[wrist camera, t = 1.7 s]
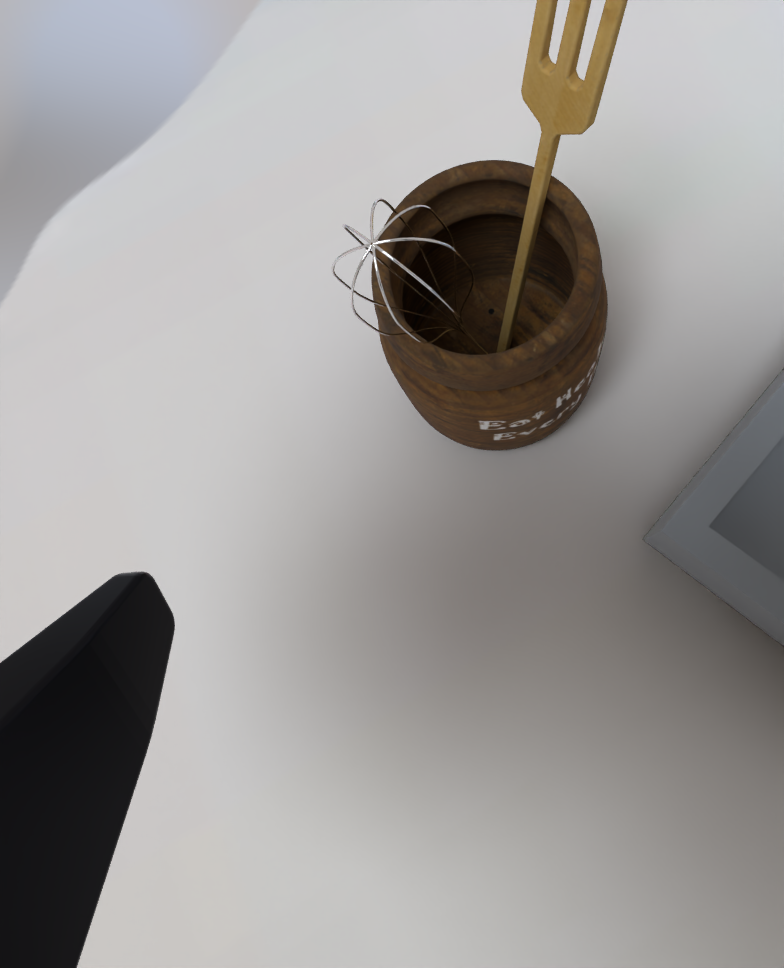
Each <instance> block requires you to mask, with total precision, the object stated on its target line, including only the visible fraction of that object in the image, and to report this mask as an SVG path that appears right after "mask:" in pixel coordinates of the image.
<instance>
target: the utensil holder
mask: <svg viewBox="0 0 784 968" xmlns="http://www.w3.org/2000/svg"><path fill="white" fill-rule="evenodd" d="M557 1H558V0H537V4H536V9H535V15H534V21H533V26H532V32H531V37H530V43H529V49H528V54H527V60H526V65H525V71H524V77H523V83H522V90H521V92H522V96H523V100H524V101H525V103H526V104H527V106H528V107H529V109H530V110H531V111H532V113H533V114H534V116H535V117H536V119H537V120H538V122H539V123H540V126H541V131H542V133H541V138H540V143H539V148H538V153H537V157H536V162H535V167H532V166H529V165H525V164H522V163H517V162H511V161H501V160H487V161H477V162H471V163H467V164H463V165H459V166H456V167H453V168H450V169H448V170H445V171H443V172H441V173H439V174H437V175H435V176H433V177H431V178H430V179H428V180H426V181H425V182H423V183H422V184H421V185H419V186H418V187H417V188H415V189H414V190H413V191H412V192H411V193H410V194H409V195H407V196H406V197H405V198H404V199H403V201H402V202H401V203H400V204H399V205H398V206H397V208H396V209H394V208H393V207H392V206H391V205H390V204H389V203H388V202H387V201H386V200H384V199H382V198H379V199H377V200H376V201H375V202H374V203H373V206H372V209H371V216H370V233H371V241H370V240H369V239H368V238H366V237H365V236H363V235H362V234H360V233H359V232H358V231H356V230H355V229H353V228H351V227H350V226H348V225H346V224H343V225H342V226H343V228H344V229H345V230H346V231H347V232H348V233H349V234H350V235H351V236H352V237H353V238H354V239H355V240H356V241H358V242H359V243H360V244H361V245H362V246H359V247H356V248H353V249H351V250H349V251H347V252H345V253H343V254H342V255H340V256H339V257H338V258H337V259H336V260H335V261H334V262H333V264H332V274H333V276H334V277H335V278H336V279H337V280H338V281H339V282H341V283H342V284H343V285H344V286H345V287H347V288H348V289H349V290H351V294H350V300H351V308H352V311H353V313H354V314H355V316H356V317H357V318H358V319H359V320H361V321H362V322H363V323H365V324H366V325H367V326H369V327H370V328H371V329H373V330H375V331H376V332H378V333H379V334H380V340H381V344H382V347H383V351H384V354H385V356H386V359H387V362H388V364H389V366H390V368H391V370H392V372H393V374H394V376H395V378H396V379H397V381H398V383H399V384H400V386H401V388H402V389H403V391H404V392H405V394H406V395H407V397H408V398H409V400H410V401H411V402H412V404H413V405H414V407H415V408H416V409H417V411H418V412H419V413H420V414H421V416H422V417H423V418H424V419H425V420H426V421H427V422H428V423H429V424H430V425H431V426H432V427H434V428H435V429H436V430H437V431H439V432H440V433H441V434H443V435H445V436H446V437H448V438H450V439H452V440H454V441H456V442H458V443H460V444H463V445H466V446H469V447H473V448H477V449H483V450H508V449H514V448H519V447H523V446H526V445H529V444H532V443H534V442H536V441H539V440H541V439H543V438H545V437H546V436H548V435H549V434H551V433H553V432H554V431H555V430H557V429H558V428H559V427H560V426H561V425H563V424H564V423H565V422H566V421H567V420H568V419H569V418H570V417H571V416H572V414H573V413H574V412H575V411H576V409H577V408H578V407H579V405H580V404H581V402H582V401H583V399H584V397H585V395H586V393H587V391H588V389H589V387H590V385H591V382H592V380H593V377H594V374H595V371H596V367H597V364H598V360H599V357H600V353H601V349H602V345H603V341H604V336H605V330H606V323H607V306H608V304H607V291H606V285H605V281H604V277H603V273H602V261H601V255H600V248H599V244H598V240H597V236H596V232H595V229H594V226H593V223H592V221H591V219H590V217H589V215H588V213H587V211H586V210H585V208H584V206H583V205H582V203H581V202H580V201H579V199H578V198H577V197H576V196H575V195H574V193H573V192H572V191H571V190H570V189H569V188H568V187H566V186H565V185H564V184H563V183H562V182H560V181H559V180H557V179H556V178H554V177H553V176H551V173H552V169H553V165H554V161H555V157H556V152H557V148H558V144H559V140H560V136H561V135H566V134H582V133H584V132H585V131H586V130H587V129H588V128H589V127H590V126H591V125H592V124H593V123H594V121H595V117H596V114H597V110H598V107H599V103H600V100H601V96H602V92H603V89H604V85H605V81H606V78H607V74H608V70H609V67H610V63H611V59H612V56H613V52H614V48H615V45H616V41H617V37H618V34H619V30H620V26H621V23H622V19H623V15H624V11H625V8H626V4H627V0H606V2H605V6H604V9H603V13H602V17H601V20H600V24H599V28H598V32H597V35H596V39H595V43H594V46H593V50H592V54H591V57H590V61H589V65H588V69H587V72H586V76H585V80H582V79H580V78H579V77H578V74H577V72H576V67H577V62H578V58H579V53H580V49H581V44H582V40H583V35H584V31H585V26H586V22H587V17H588V13H589V8H590V4H591V0H570V4H569V8H568V13H567V17H566V22H565V26H564V31H563V35H562V40H561V44H560V49H559V53H558V58H557V62H556V64H554V63H553V62H552V61H551V60H550V57H549V54H548V53H549V47H550V41H551V35H552V30H553V24H554V18H555V12H556V7H557ZM379 201H382V202H384V203H385V204H386V205H387V206H389V208H390V209H391V210H392V211H393V213H392V214H391V216H390V217H389V219H388V220H387V222H386V224H385V226H384V228H383V229H382V230H381V231H380V233H379V234H378V235H377V237H376V238H375V239H374V237H373V213H374V208H375V205H376V204H377V202H379ZM347 228H348V229H349V230H351V231H353V232H354V233H356V234H357V235H358V236H360V237H361V238H363V239H364V240H366V241H367V242H368V243H369V244H365V245H364V244H363V243H362V242H361V241H360V240H359V239H358V238H357V237H356V236H355V235H354V234H353V233H352V232H350V231H349V230H348V229H347ZM377 240H378V241H377ZM376 241H377V242H376ZM372 243H374V244H373V245H372ZM369 246H370V247H369ZM367 247H369V248H367ZM362 248H365V249H366V250H367V251H366V253H365V255H364V256H363V258H362V260H361V262H360V264H359V266H358V268H357V271H356V273H355V276H354V279H353V282H352V287H351V288H350V287H349V286H348V285H347V284H346V283H344V282H343V281H342V280H341V279H340V278H339V277H338V276H337V275H336V274H335V272H334V267H335V264H336V263H337V261H338V260H340V259H341V258H342V257H344V256H345V255H347V254H349V253H351V252H353V251H356V250H359V249H362ZM371 249H372V251H371ZM368 253H371V254H372V255H373V263H372V291H373V300H374V301H373V300H370V299H368V298H366V297H364V296H362V295H360V294H359V293H357V292H356V291H354V285H355V281H356V278H357V275H358V273H359V270H360V268H361V266H362V264H363V262H364V260H365V258H366V257H367V255H368ZM353 293H355V294H356V295H358V296H359V297H361V298H363V299H365V300H367V301H369V302H372V303H374V305H375V311H376V314H377V318H378V326H379V330H377V329H376V328H374V327H373V326H371V325H370V324H368V323H367V322H366V321H365V320H363V319H362V318H361V317H360V316H359V315H358V314H357V313H356V311H355V309H354V305H353Z"/></svg>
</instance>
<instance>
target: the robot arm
mask: <svg viewBox="0 0 784 968" xmlns="http://www.w3.org/2000/svg"><path fill="white" fill-rule="evenodd" d="M174 630H175V623H174V617H173V613H172V611H171V609H170V607H169V606H168V604H167V602H166V600H165V598H164V596H163V595H162V593H161V591H160V589H159V587H158V585H157V583H156V582H155V580H154V578H153V577H152V576H151V575H150V574H149V573H147V572H131V573H121V574H118V575H115V576H114V577H112V578H111V579H110V580H108V581H107V582H106V583H104V584H103V585H102V586H100V587H99V588H98V589H96V590H95V591H94V592H93V593H91V594H90V595H89V596H87V597H86V598H85V599H83V600H82V601H81V602H79V603H78V604H77V605H76V606H74V607H73V608H72V609H70V610H69V611H68V612H66V613H65V614H64V615H62V616H61V617H60V618H59V619H57V620H56V621H55V622H53V623H52V624H51V625H49V626H48V627H47V628H45V629H44V630H43V631H42V632H40V633H39V634H38V635H36V636H35V637H34V638H32V639H31V640H30V641H28V642H27V643H26V644H24V645H23V646H22V647H21V648H19V649H18V650H17V651H15V652H14V653H13V654H11V655H10V656H9V657H7V658H6V659H5V660H4V661H2V662H1V663H0V968H77V965H78V962H79V959H80V956H81V953H82V950H83V947H84V944H85V941H86V937H87V934H88V931H89V928H90V925H91V922H92V919H93V916H94V913H95V910H96V907H97V904H98V901H99V897H100V894H101V891H102V888H103V885H104V882H105V879H106V876H107V873H108V870H109V867H110V864H111V861H112V857H113V854H114V851H115V848H116V845H117V842H118V839H119V836H120V833H121V830H122V827H123V824H124V821H125V818H126V814H127V811H128V808H129V805H130V802H131V799H132V796H133V793H134V790H135V787H136V784H137V781H138V778H139V774H140V771H141V768H142V765H143V762H144V759H145V756H146V753H147V749H148V746H149V743H150V739H151V736H152V732H153V728H154V724H155V720H156V715H157V711H158V706H159V701H160V697H161V692H162V687H163V683H164V678H165V673H166V668H167V664H168V659H169V654H170V650H171V645H172V640H173V636H174Z"/></svg>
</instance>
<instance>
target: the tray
mask: <svg viewBox="0 0 784 968" xmlns="http://www.w3.org/2000/svg"><path fill="white" fill-rule="evenodd" d="M643 540H644V541H645V542H647V543H648V544H649V545H651V546H652V547H653V548H655V549H656V550H657V551H659V552H660V553H661V554H663V555H664V556H665V557H667V558H668V559H669V560H670V561H672V562H673V563H674V564H676V565H677V566H678V567H680V568H681V569H682V570H684V571H685V572H686V573H688V574H689V575H690V576H692V577H693V578H694V579H696V580H697V581H698V582H700V583H701V584H702V585H703V586H705V587H706V588H707V589H709V590H710V591H711V592H713V593H714V594H715V595H717V596H718V597H719V598H721V599H722V600H723V601H725V602H726V603H727V604H729V605H730V606H731V607H732V608H734V609H735V610H736V611H738V612H739V613H740V614H742V615H743V616H744V617H746V618H747V619H748V620H750V621H751V622H752V623H754V624H755V625H756V626H758V627H759V628H760V629H761V630H763V631H764V632H765V633H767V634H768V635H769V636H771V637H772V638H773V639H775V640H776V641H777V642H779V643H780V644H781V645H783V646H784V369H783V370H782V371H781V372H780V374H779V375H778V376H777V377H776V378H775V380H774V381H773V382H772V383H771V384H770V386H769V387H768V388H767V389H766V390H765V392H764V393H763V394H762V395H761V397H760V398H759V399H758V400H757V401H756V403H755V404H754V405H753V406H752V407H751V409H750V410H749V411H748V412H747V413H746V415H745V416H744V417H743V418H742V420H741V421H740V422H739V423H738V424H737V426H736V427H735V428H734V429H733V430H732V432H731V433H730V434H729V435H728V436H727V438H726V439H725V440H724V441H723V442H722V444H721V445H720V446H719V447H718V449H717V450H716V451H715V452H714V453H713V455H712V456H711V457H710V458H709V459H708V461H707V462H706V463H705V464H704V465H703V467H702V468H701V469H700V470H699V472H698V473H697V474H696V475H695V476H694V478H693V479H692V480H691V481H690V482H689V484H688V485H687V486H686V487H685V488H684V490H683V491H682V492H681V493H680V495H679V496H678V497H677V498H676V499H675V501H674V502H673V503H672V504H671V505H670V507H669V508H668V509H667V510H666V511H665V513H664V514H663V515H662V516H661V517H660V519H659V520H658V521H657V522H656V524H655V525H654V526H653V527H652V528H651V530H650V531H649V532H648V533H647V534H646V536H645V537H644V538H643Z"/></svg>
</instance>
